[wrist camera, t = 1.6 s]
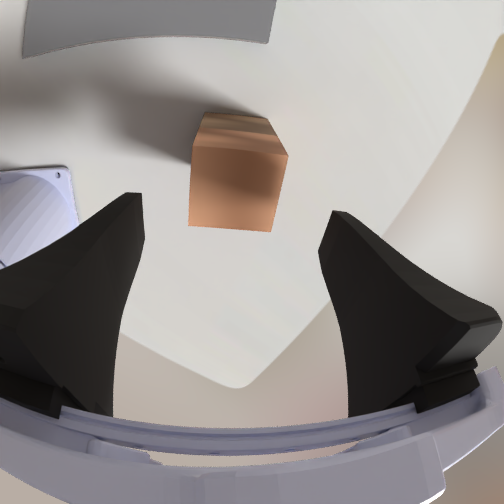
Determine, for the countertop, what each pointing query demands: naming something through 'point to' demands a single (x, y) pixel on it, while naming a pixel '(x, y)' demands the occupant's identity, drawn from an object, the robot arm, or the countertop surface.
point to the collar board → (142, 21)
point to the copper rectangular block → (235, 173)
